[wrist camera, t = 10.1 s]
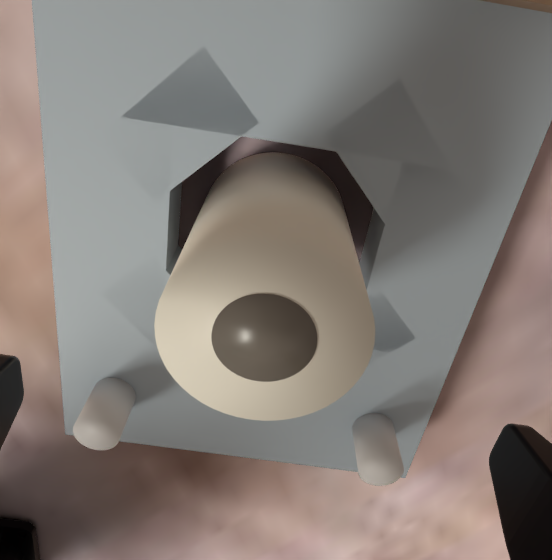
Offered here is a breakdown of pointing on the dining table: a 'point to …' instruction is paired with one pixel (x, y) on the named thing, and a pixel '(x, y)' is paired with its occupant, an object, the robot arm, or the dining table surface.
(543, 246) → the dining table surface
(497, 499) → the robot arm
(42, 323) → the dining table surface
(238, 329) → the bushing
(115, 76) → the jig
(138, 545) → the dining table surface
